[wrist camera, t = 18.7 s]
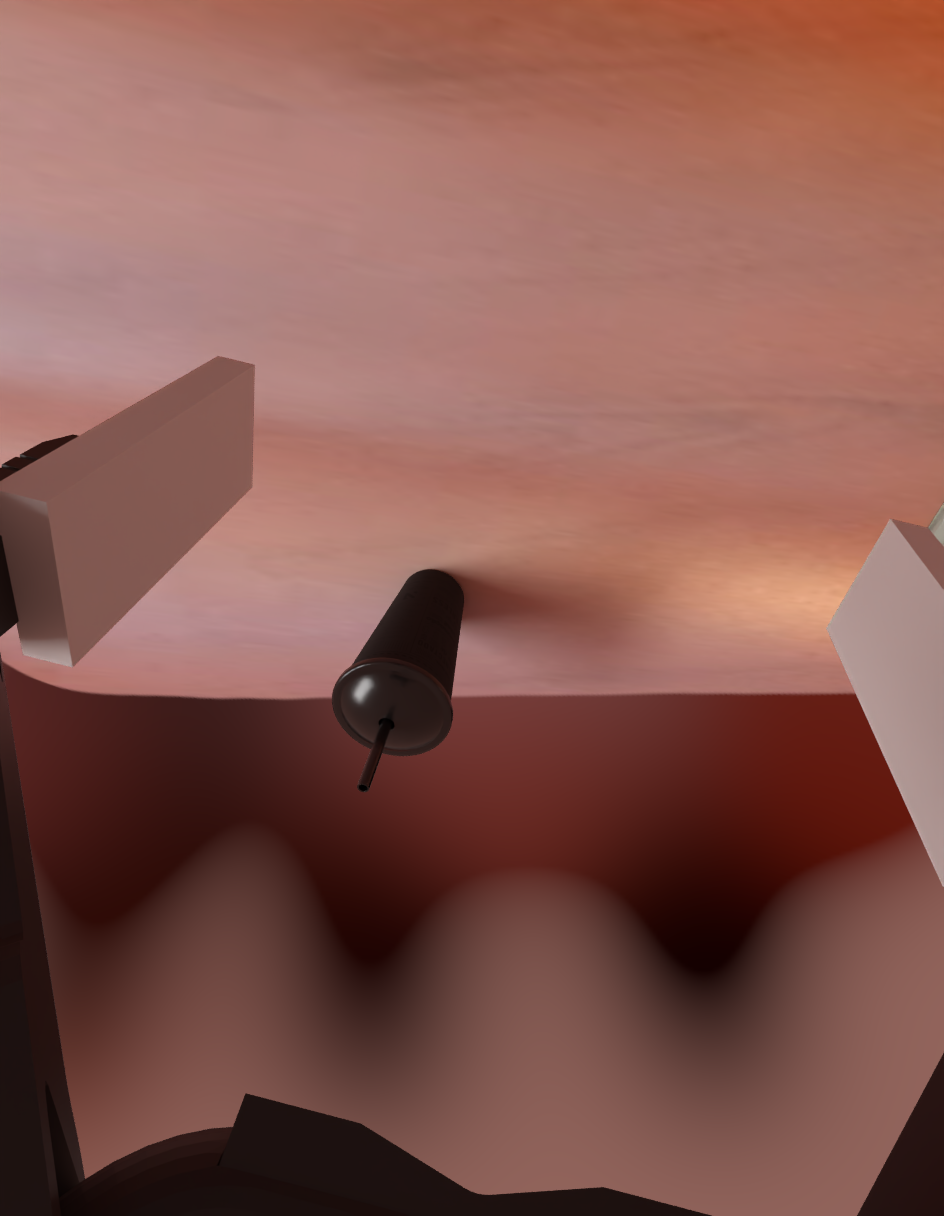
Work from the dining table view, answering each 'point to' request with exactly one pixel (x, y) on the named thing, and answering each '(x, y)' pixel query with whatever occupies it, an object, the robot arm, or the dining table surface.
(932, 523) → the pad
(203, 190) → the dining table surface
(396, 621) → the drinking cup
